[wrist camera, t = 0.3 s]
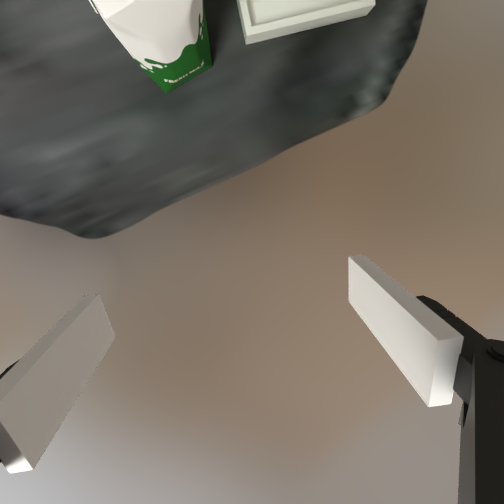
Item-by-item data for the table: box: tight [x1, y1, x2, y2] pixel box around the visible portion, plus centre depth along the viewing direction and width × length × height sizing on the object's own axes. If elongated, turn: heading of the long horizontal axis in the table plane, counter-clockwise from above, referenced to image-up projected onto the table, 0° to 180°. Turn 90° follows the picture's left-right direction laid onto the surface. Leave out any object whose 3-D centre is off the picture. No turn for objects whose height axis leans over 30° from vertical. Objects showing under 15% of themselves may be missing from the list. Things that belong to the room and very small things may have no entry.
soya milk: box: [89, 0, 212, 93], centre depth 25 cm, size 9×9×20 cm
